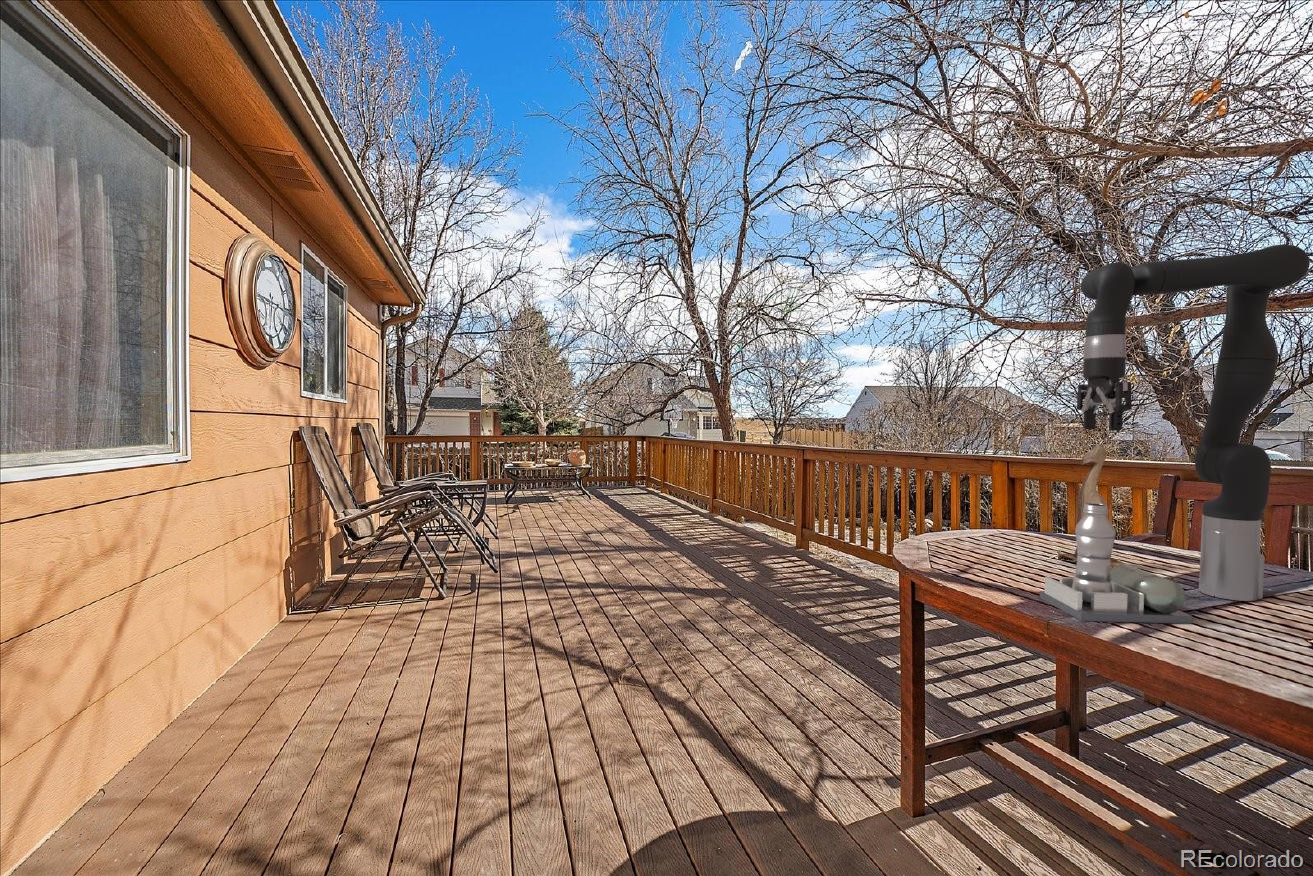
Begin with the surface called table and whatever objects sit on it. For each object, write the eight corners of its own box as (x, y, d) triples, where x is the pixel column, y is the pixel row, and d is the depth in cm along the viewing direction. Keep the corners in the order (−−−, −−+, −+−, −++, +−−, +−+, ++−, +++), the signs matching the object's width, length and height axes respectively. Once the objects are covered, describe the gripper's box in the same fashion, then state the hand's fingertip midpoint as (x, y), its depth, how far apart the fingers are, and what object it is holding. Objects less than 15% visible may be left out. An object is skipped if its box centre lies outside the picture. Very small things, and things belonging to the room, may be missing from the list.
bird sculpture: (1054, 561, 159) (1055, 443, 157) (1099, 561, 159) (1100, 442, 157) (1082, 573, 148) (1083, 446, 146) (1130, 572, 148) (1132, 445, 146)
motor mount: (1137, 600, 126) (1139, 563, 126) (1191, 623, 112) (1193, 582, 112) (1039, 597, 128) (1040, 561, 127) (1081, 621, 114) (1082, 580, 113)
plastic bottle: (1072, 594, 125) (1076, 500, 124) (1113, 601, 120) (1117, 504, 119) (1069, 602, 120) (1073, 504, 119) (1111, 610, 115) (1116, 508, 114)
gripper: (1146, 353, 123) (1143, 431, 124) (1100, 359, 138) (1098, 429, 138) (1108, 353, 124) (1105, 431, 125) (1066, 359, 138) (1064, 428, 139)
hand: (1101, 429), depth 132 cm, fingers open, 8 cm apart
